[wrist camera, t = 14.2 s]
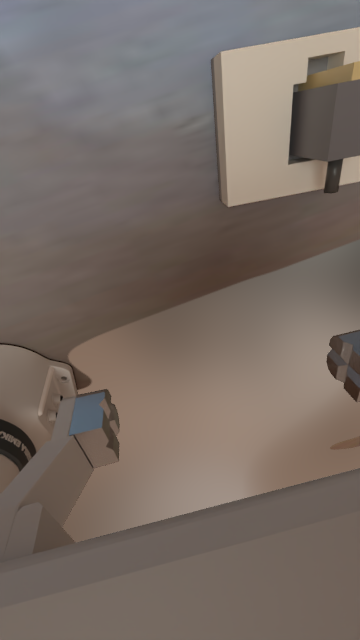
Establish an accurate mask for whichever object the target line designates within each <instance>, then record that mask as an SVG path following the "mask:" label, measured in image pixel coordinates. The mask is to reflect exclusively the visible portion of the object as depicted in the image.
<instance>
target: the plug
mask: <svg viewBox="0 0 360 640" xmlns="http://www.w3.org/2000/svg"><path fill="white" fill-rule="evenodd" d="M289 155H293V156H299V157H304V158H310V159H315V160H321V161H326V162H328V165H327V172H326V179H325V187H324V193H336V192H338V189H339V183H340V176H341V170H342V164H343V159H344V158H349V157H355V156H360V61H358V62H353V63H350V64H346V65H343V66H339V67H336V68H332V69H329V70H325V71H322V72H318V73H315V74H311V75H308V76H307V80H306V82H305V83H301V84H298V92H293V99H292V114H291V129H290V144H289Z"/></svg>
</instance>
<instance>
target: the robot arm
mask: <svg viewBox="0 0 360 640" xmlns="http://www.w3.org/2000/svg"><path fill="white" fill-rule="evenodd" d="M329 345H330V347H331V348H332V350H331V351H330V352H329V353H328V355H327V365H328V369H329V371H330V373H331V374H332V375H333V376H334V378H335V379H337V380H339V381H341V382H343V383H344V389H345V390H346V391H347V392H348V393H349V395H351V397H352V398H353V399H354V400H355V401H356V402H360V330H356V331H352V332H348V333H344V334H340V335H336V336H333V337H332V338H331V339H330V343H329ZM63 376H64V377H63ZM118 433H119V418H118V413H117V409H116V407H115V405H114V404H112V403H111V395H110V393H109V391H108V390H107V389H104V390H99V391H95V392H90V393H85V394H80V395H78V392H77V388H76V383H75V379H74V375H73V371H72V368H71V367H70V366H69V365H68V364H65V363H61V362H57V361H52V360H49V359H46V358H44V357H42V356H40V355H39V354H37V353H35V352H32V351H30V350H27V349H24V348H21V347H17V346H11V345H0V640H360V468H359V469H355V470H351V471H347V472H343V473H340V474H336V475H332V476H328V477H324V478H321V479H317V480H313V481H309V482H305V483H301V484H298V485H294V486H290V487H286V488H282V489H278V490H275V491H271V492H267V493H263V494H260V495H256V496H252V497H248V498H244V499H241V500H237V501H233V502H229V503H225V504H221V505H218V506H214V507H210V508H206V509H203V510H199V511H195V512H192V513H187V514H184V515H180V516H176V517H173V518H168V519H165V520H161V521H157V522H153V523H149V524H146V525H142V526H138V527H134V528H130V529H127V530H123V531H119V532H115V533H112V534H107V535H103V536H100V537H96V538H92V539H88V540H85V541H81V542H77V543H76V542H75V541H74V540H73V539H72V538H71V537H70V535H69V534H68V533H67V532H66V531H65V530H64V529H63V528H62V526H63V525H64V523H65V521H66V519H67V518H68V516H69V514H70V512H71V510H72V508H73V507H74V505H75V503H76V501H77V499H78V498H79V496H80V494H81V492H82V490H83V488H84V487H85V485H86V483H87V481H88V479H89V478H90V476H91V474H92V472H93V468H97V467H100V466H104V465H107V464H111V463H115V462H118V461H119V442H118V440H117V437H116V436H117V434H118Z"/></svg>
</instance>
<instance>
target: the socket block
mask: <svg viewBox="0 0 360 640" xmlns="http://www.w3.org/2000/svg"><path fill="white" fill-rule="evenodd" d="M358 61H360V27H358V28H352V29H346V30H341V31H335V32H329V33H324V34H318V35H312V36H307V37H301V38H295V39H290V40H284V41H278V42H273V43H267V44H261V45H256V46H250V47H244V48H239V49H233V50H227V51H222V52H220V53H219V54H217V55H216V56H215V57H214V58H213V59H211V71H212V87H213V102H214V118H215V134H216V150H217V166H218V182H219V198H220V201H222V202H223V203H224V204H225V205H226V206H227V207H231V206H236V205H241V204H246V203H252V202H257V201H262V200H267V199H272V198H277V197H282V196H288V195H293V194H298V193H303V192H308V191H313V190H319V189H324V187H325V179H326V172H327V165H328V162H326V161H321V160H315V159H310V158H304V157H299V156H293V155H289V144H290V129H291V114H292V99H293V92H298V84H301V83H305V82H306V80H307V76H308V75H311V74H315V73H318V72H322V71H325V70H329V69H332V68H336V67H339V66H343V65H346V64H350V63H353V62H358ZM355 182H360V156H355V157H349V158H344V159H343V164H342V170H341V176H340V183H339V185H344V184H349V183H355Z"/></svg>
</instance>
